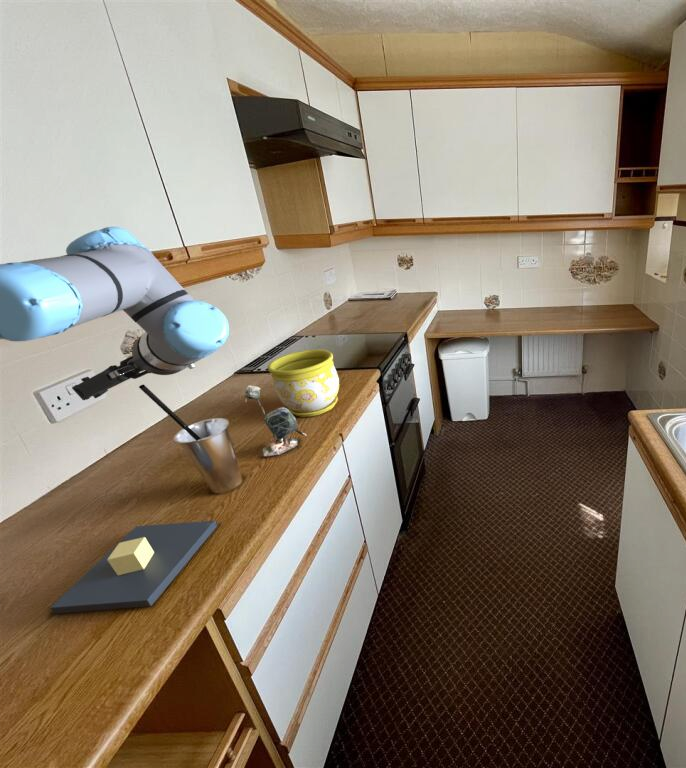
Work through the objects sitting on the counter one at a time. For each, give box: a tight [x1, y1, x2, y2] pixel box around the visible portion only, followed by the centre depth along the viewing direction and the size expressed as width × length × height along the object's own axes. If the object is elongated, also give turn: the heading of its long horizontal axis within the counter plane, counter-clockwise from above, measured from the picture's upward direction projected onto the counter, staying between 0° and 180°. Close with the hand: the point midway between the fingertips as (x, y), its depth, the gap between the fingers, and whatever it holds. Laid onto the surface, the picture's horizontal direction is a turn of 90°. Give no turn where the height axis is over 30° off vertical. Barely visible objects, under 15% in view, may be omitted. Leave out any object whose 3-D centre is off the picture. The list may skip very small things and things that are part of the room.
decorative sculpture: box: [244, 384, 308, 457], centre depth 105 cm, size 8×11×20 cm
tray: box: [49, 519, 218, 615], centre depth 75 cm, size 16×18×2 cm
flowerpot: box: [267, 349, 340, 418], centre depth 126 cm, size 18×18×16 cm
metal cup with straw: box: [138, 384, 243, 495], centre depth 89 cm, size 11×11×30 cm
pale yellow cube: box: [107, 537, 154, 575], centre depth 73 cm, size 4×4×4 cm
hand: (134, 373), depth 78 cm, fingers open, 13 cm apart
